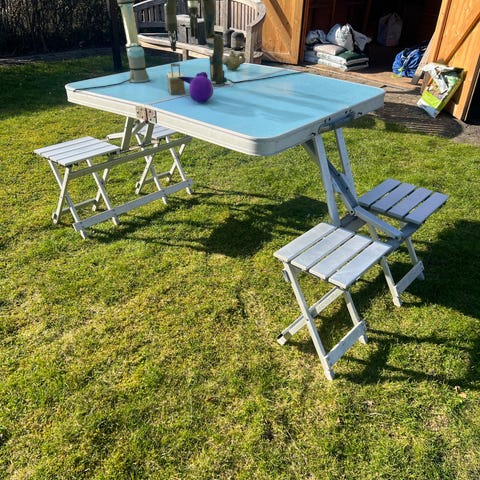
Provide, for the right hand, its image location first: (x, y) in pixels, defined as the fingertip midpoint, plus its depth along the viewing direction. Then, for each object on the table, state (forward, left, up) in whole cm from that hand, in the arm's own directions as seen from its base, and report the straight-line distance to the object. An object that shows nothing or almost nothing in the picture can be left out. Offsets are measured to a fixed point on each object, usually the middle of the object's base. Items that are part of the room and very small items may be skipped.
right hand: (173, 50), depth 286 cm
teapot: (-80, -45, -27) cm, 96 cm away
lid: (-2, -5, -16) cm, 17 cm away
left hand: (-49, -52, 0) cm, 71 cm away
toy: (0, +25, -27) cm, 37 cm away
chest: (-2, -5, -27) cm, 28 cm away
